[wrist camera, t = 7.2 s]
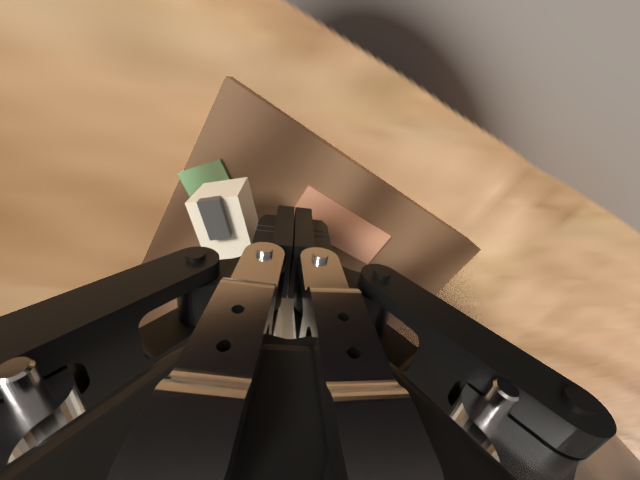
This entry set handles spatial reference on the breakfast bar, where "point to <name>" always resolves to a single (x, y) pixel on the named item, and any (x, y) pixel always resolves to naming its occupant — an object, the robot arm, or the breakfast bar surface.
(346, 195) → the board
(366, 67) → the breakfast bar surface
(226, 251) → the peg
